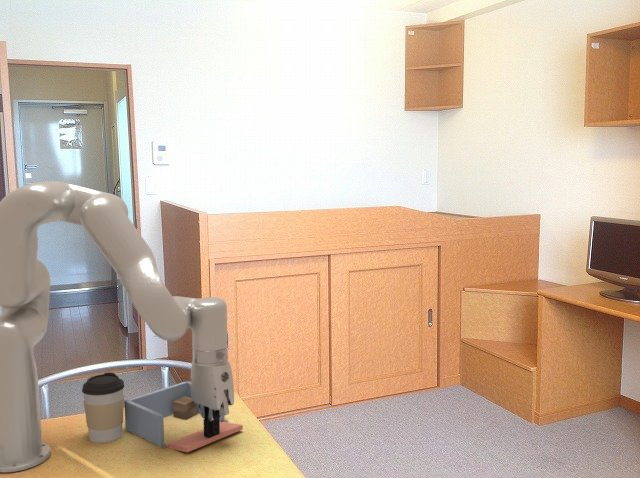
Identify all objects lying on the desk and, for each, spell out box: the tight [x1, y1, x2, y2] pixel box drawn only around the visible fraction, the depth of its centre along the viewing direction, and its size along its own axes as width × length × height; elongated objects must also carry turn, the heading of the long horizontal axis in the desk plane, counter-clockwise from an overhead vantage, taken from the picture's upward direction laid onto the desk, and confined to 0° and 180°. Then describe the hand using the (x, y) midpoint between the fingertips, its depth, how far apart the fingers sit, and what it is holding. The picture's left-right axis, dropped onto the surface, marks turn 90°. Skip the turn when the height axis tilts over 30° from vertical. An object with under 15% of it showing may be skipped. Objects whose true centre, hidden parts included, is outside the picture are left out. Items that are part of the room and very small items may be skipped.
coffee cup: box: [81, 371, 125, 444], centre depth 144 cm, size 9×9×15 cm
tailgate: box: [167, 421, 244, 453], centre depth 142 cm, size 16×1×7 cm
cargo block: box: [172, 396, 198, 421], centre depth 156 cm, size 4×4×4 cm
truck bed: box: [124, 380, 229, 449], centre depth 149 cm, size 18×15×8 cm
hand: (211, 435), depth 141 cm, fingers closed
